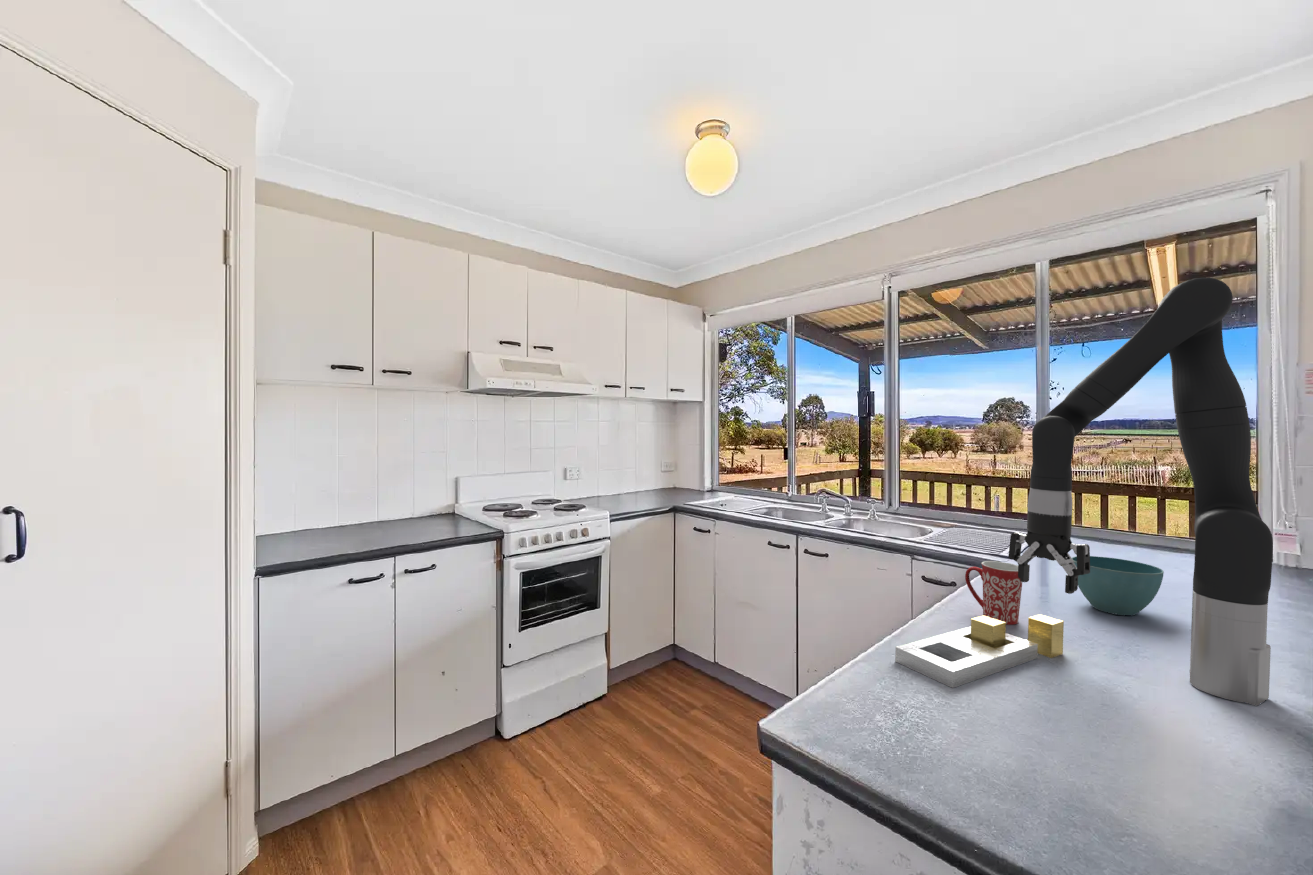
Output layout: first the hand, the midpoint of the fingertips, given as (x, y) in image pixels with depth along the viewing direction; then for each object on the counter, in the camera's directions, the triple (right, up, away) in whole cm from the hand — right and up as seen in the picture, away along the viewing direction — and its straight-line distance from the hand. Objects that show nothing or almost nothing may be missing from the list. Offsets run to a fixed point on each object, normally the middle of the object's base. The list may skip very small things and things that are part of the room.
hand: (1046, 587), depth 112 cm
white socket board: (-19, -14, -4) cm, 24 cm away
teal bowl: (+38, -14, +27) cm, 48 cm away
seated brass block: (-13, -14, -1) cm, 19 cm away
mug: (+2, -14, +20) cm, 24 cm away
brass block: (0, -14, 0) cm, 14 cm away
